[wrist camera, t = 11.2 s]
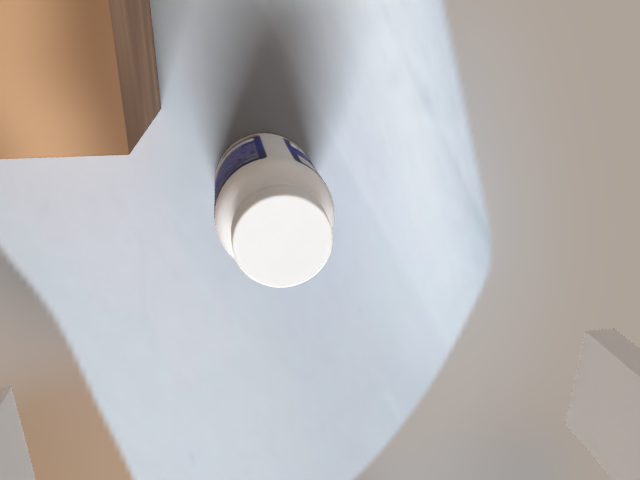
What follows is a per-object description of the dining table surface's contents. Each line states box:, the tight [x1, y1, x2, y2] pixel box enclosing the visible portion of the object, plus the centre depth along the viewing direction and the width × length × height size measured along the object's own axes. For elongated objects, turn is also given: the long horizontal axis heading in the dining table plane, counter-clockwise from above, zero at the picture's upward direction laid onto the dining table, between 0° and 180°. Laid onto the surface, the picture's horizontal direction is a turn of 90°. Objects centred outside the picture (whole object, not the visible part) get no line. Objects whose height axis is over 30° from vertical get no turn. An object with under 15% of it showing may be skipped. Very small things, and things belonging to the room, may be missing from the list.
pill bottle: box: [214, 133, 334, 287], centre depth 25 cm, size 5×5×9 cm
